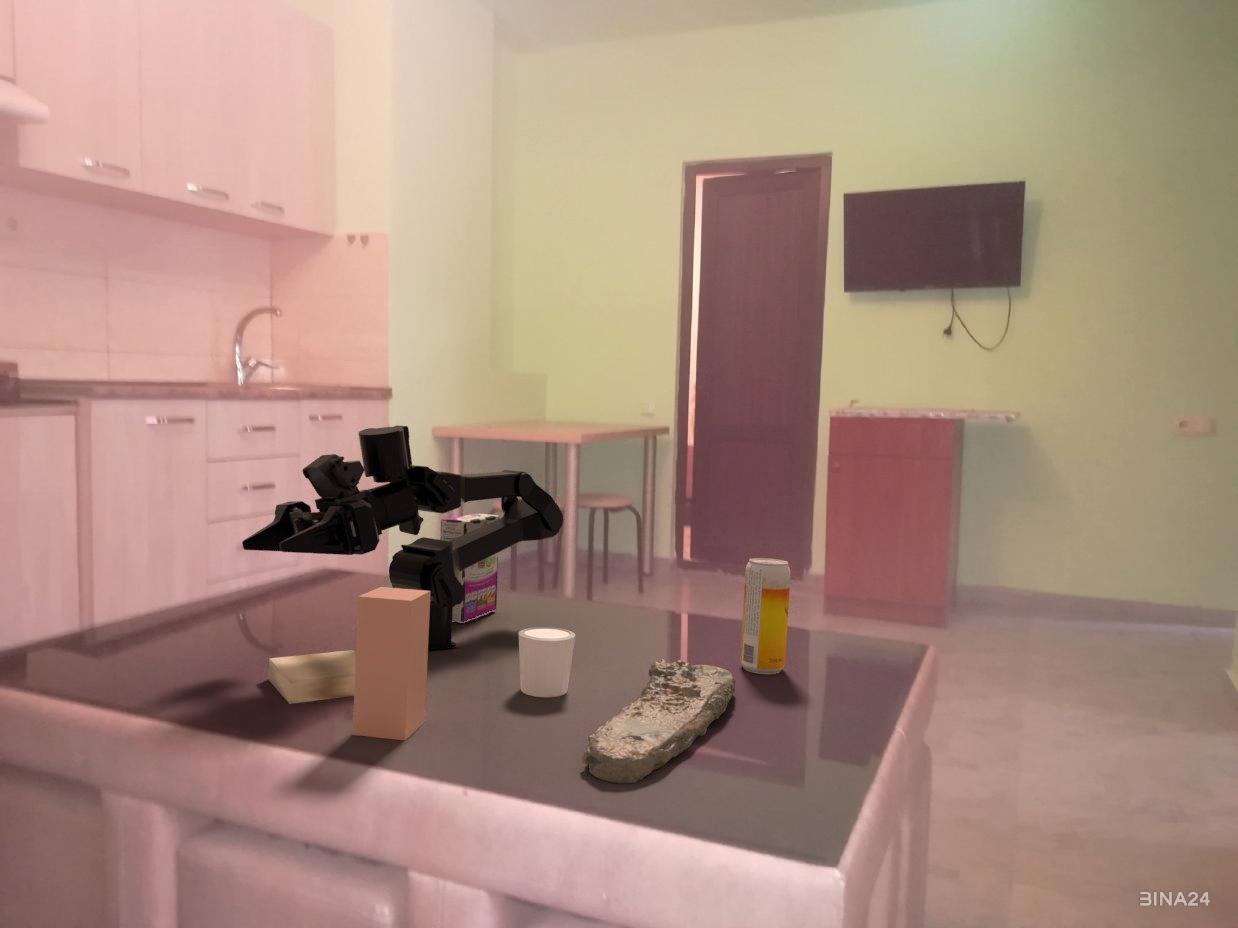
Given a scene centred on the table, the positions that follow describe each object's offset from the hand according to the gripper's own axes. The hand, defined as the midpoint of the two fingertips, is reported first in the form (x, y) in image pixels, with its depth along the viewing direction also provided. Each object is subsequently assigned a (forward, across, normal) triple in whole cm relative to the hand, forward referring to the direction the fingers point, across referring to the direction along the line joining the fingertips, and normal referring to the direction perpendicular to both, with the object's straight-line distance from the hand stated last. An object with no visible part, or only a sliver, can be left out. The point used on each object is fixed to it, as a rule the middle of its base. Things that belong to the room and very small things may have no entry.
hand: (261, 546), depth 104 cm
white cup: (-19, +22, +24) cm, 38 cm away
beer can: (-48, +34, +32) cm, 67 cm away
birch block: (-1, +5, +18) cm, 18 cm away
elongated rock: (-20, +40, +26) cm, 52 cm away
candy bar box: (-37, -15, +24) cm, 47 cm away
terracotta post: (+2, +22, +18) cm, 29 cm away
